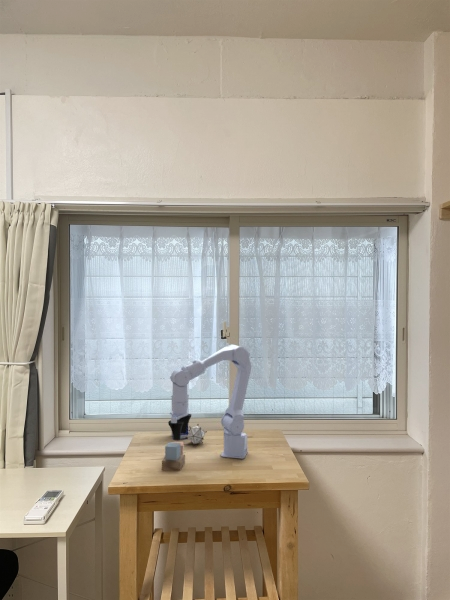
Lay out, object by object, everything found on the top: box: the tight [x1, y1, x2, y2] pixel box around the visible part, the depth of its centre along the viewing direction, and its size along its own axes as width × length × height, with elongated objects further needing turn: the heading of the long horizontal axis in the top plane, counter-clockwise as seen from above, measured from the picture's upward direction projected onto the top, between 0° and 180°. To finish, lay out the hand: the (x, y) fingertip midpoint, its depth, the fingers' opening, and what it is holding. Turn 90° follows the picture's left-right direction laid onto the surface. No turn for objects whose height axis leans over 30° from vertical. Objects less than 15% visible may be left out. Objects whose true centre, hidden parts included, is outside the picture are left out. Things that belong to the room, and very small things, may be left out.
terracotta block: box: [172, 441, 185, 455], centre depth 172 cm, size 4×4×5 cm
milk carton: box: [170, 393, 189, 441], centre depth 195 cm, size 7×7×20 cm
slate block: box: [164, 441, 181, 461], centre depth 161 cm, size 4×4×5 cm
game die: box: [185, 423, 208, 447], centre depth 185 cm, size 9×8×10 cm
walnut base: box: [161, 454, 186, 472], centre depth 161 cm, size 7×7×4 cm
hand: (180, 436), depth 164 cm, fingers open, 7 cm apart
